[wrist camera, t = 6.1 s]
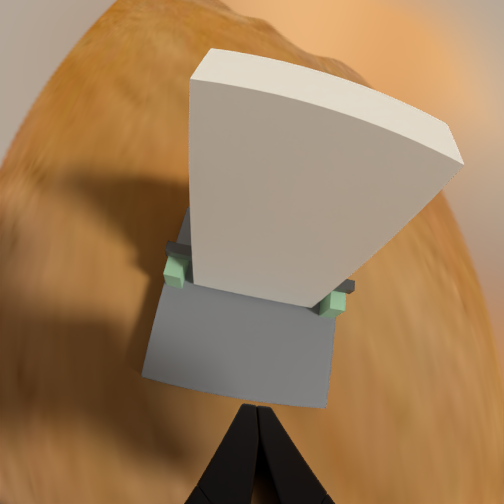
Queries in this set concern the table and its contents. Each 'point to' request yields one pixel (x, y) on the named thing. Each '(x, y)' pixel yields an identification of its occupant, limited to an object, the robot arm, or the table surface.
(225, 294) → the gauge base
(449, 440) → the table surface
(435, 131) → the cream block
